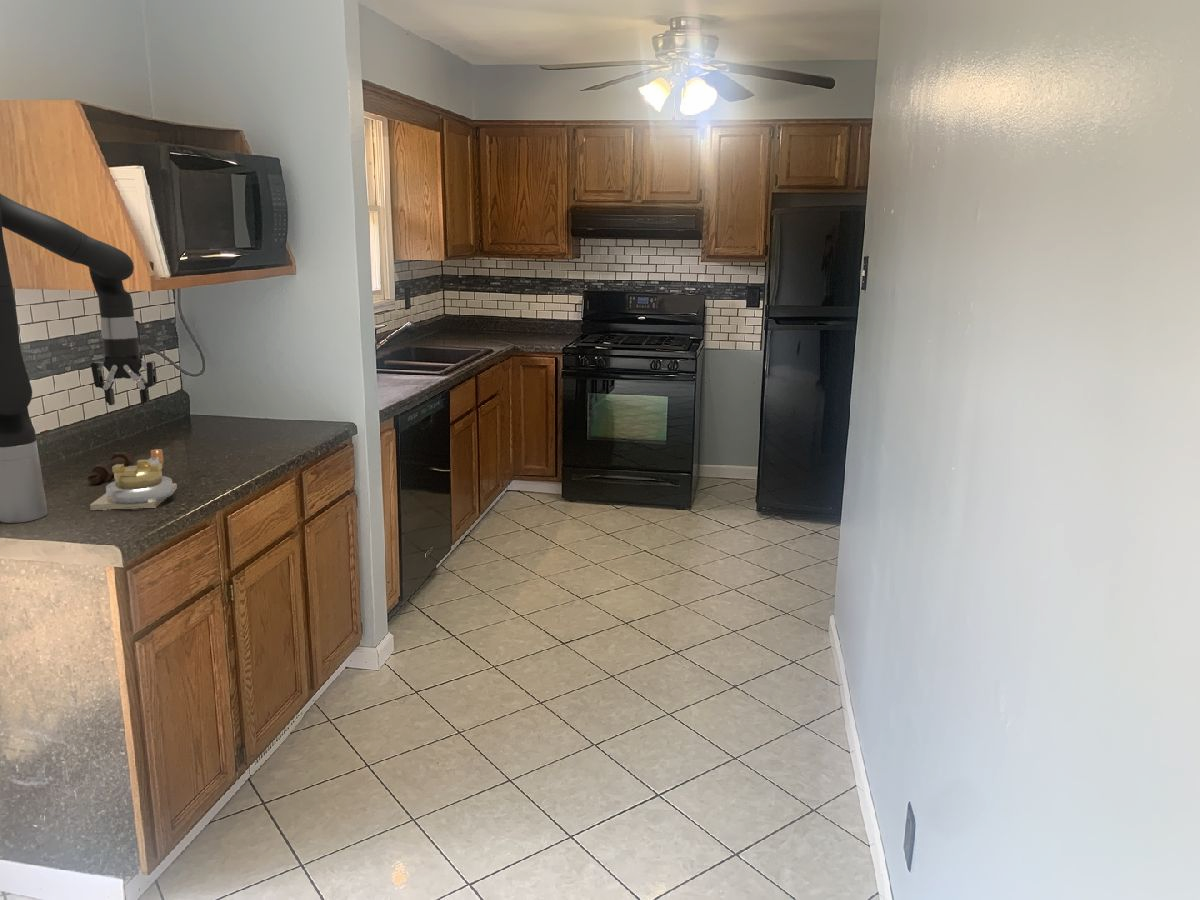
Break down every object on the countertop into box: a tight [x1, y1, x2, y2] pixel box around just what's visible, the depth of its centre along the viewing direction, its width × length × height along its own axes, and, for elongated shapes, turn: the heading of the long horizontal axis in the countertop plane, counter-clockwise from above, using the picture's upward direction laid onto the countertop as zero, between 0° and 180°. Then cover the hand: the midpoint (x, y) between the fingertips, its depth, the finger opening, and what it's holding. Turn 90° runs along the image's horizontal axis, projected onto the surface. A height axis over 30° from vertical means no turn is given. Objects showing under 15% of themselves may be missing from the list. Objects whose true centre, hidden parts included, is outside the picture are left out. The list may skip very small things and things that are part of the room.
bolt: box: [86, 451, 134, 485], centre depth 232 cm, size 6×5×15 cm
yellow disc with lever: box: [112, 448, 165, 488], centre depth 216 cm, size 20×10×4 cm, turn 8°
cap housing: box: [89, 475, 178, 511], centre depth 214 cm, size 16×17×4 cm
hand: (128, 404), depth 217 cm, fingers open, 7 cm apart
